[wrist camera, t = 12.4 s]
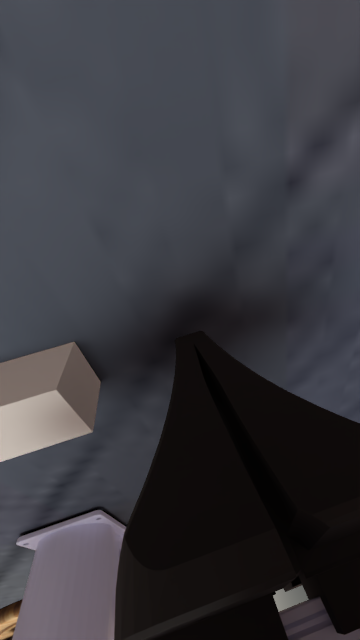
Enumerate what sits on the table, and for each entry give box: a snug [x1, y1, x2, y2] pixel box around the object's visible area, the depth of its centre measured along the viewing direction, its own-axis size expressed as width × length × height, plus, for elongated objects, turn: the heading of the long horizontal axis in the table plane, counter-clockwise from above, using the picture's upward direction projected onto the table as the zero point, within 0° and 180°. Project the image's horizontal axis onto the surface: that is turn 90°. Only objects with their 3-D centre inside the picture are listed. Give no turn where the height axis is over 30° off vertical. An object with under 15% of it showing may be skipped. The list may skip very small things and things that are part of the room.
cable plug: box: [0, 342, 101, 462], centre depth 9 cm, size 3×7×3 cm, turn 102°
